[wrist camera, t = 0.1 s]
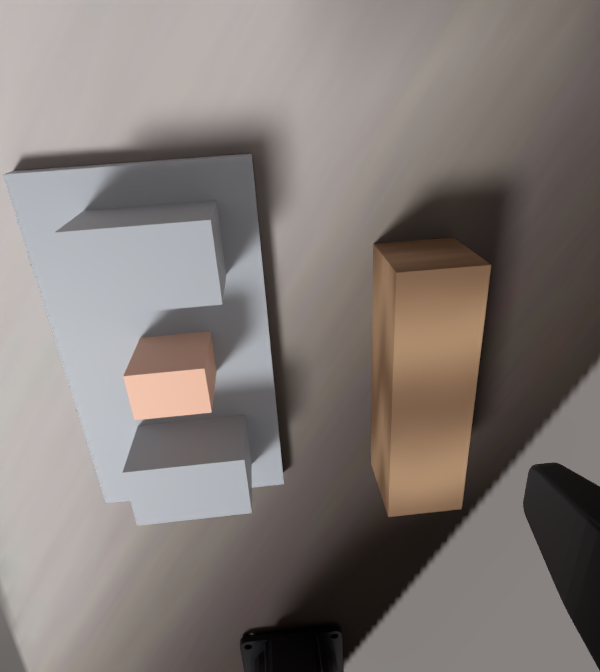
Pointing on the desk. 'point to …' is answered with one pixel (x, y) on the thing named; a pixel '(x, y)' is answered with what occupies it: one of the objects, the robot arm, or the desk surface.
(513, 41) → the desk surface
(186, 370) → the pale grey flat fixture
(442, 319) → the walnut bar
